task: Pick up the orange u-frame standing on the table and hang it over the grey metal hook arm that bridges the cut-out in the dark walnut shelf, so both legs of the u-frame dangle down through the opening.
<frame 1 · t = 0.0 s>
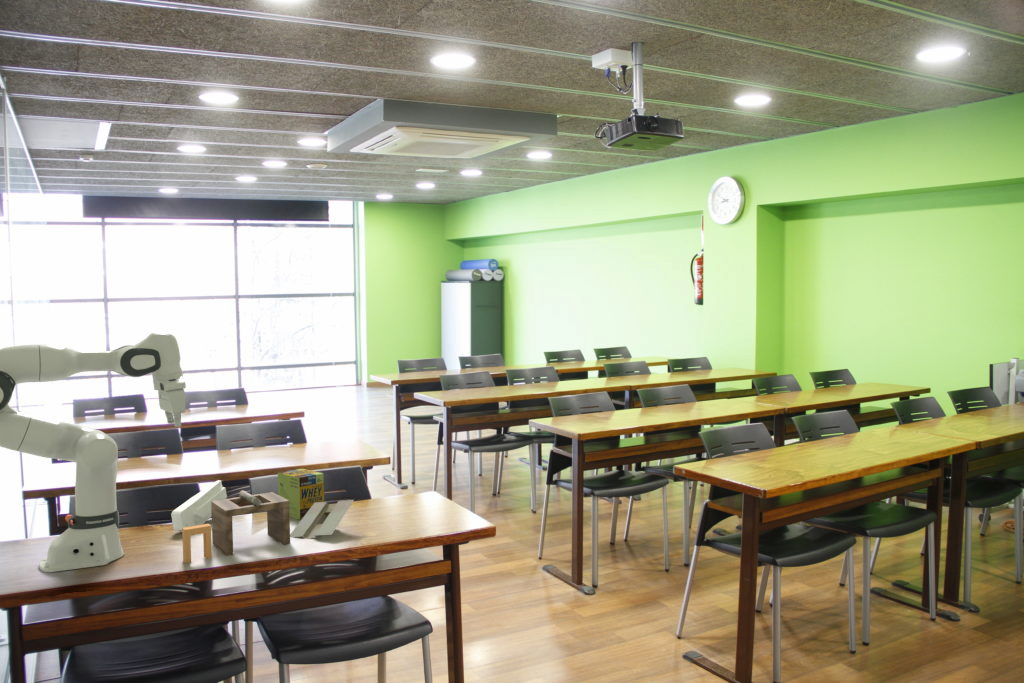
hand: (174, 425, 249), 39 cm above the table, tool pointing down, fingers open, 8 cm apart
protein box: (301, 514, 287), on the table
orange u-frame: (197, 559, 234), on the table
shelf: (251, 543, 250), on the table
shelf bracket: (201, 524, 276), on the table
slanted grey stand: (322, 534, 261), on the table
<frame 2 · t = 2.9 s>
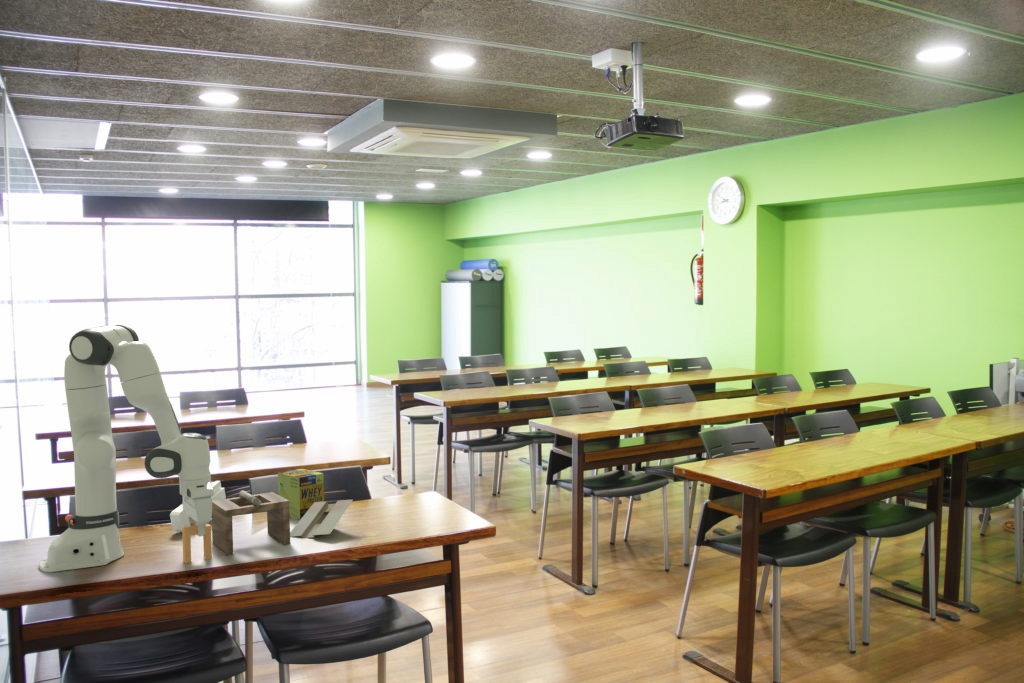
hand: (197, 532, 234), 8 cm above the table, tool pointing down, fingers open, 8 cm apart
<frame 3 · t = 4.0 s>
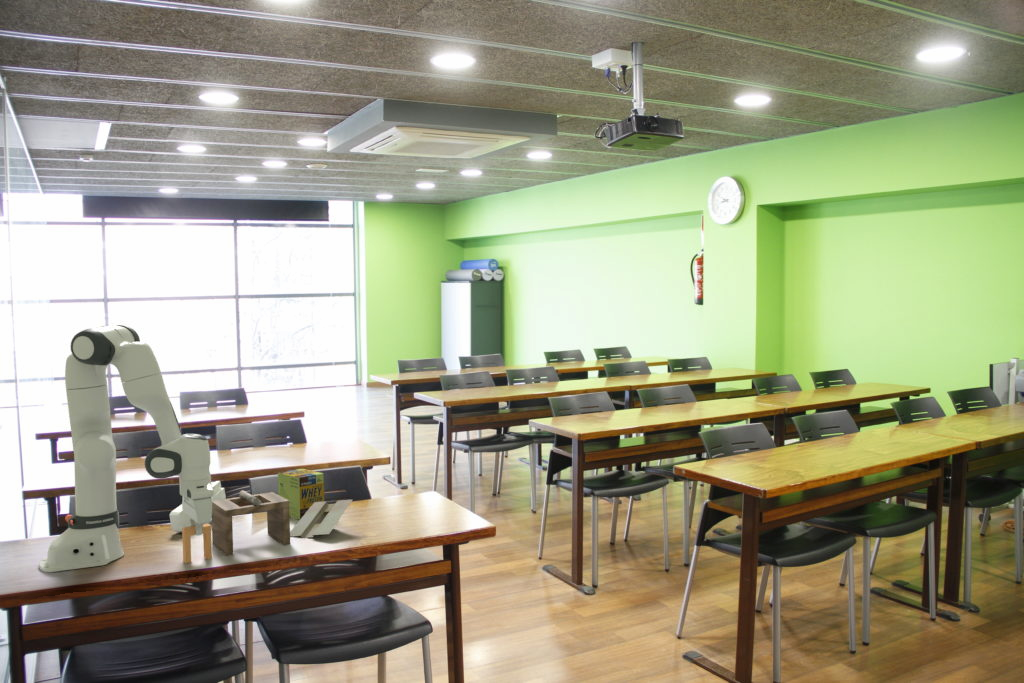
hand: (196, 532, 234), 8 cm above the table, tool pointing down, fingers closed on orange u-frame, 3 cm apart
orange u-frame: (197, 559, 234), on the table, touching gripper
everything else where it was.
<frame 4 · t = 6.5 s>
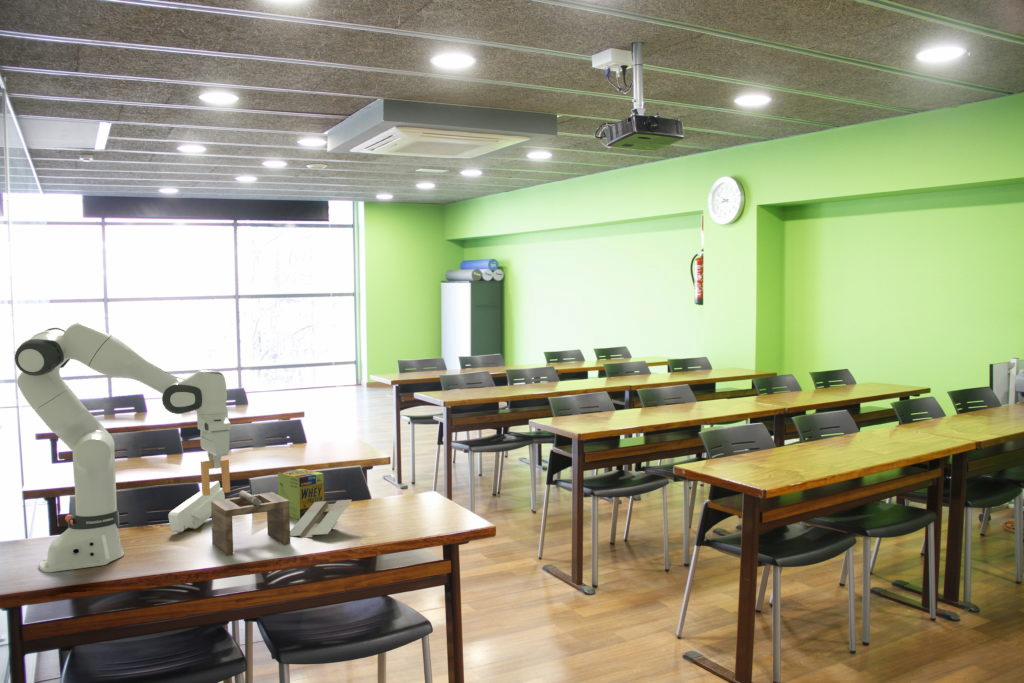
hand: (214, 466, 238), 27 cm above the table, tool pointing down, fingers closed on orange u-frame, 3 cm apart
orange u-frame: (216, 493, 239), point 19 cm above the table, touching gripper
when the fingers open (18 cm above the table, at t = 9.3 s): orange u-frame drops 1 cm, resting on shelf.
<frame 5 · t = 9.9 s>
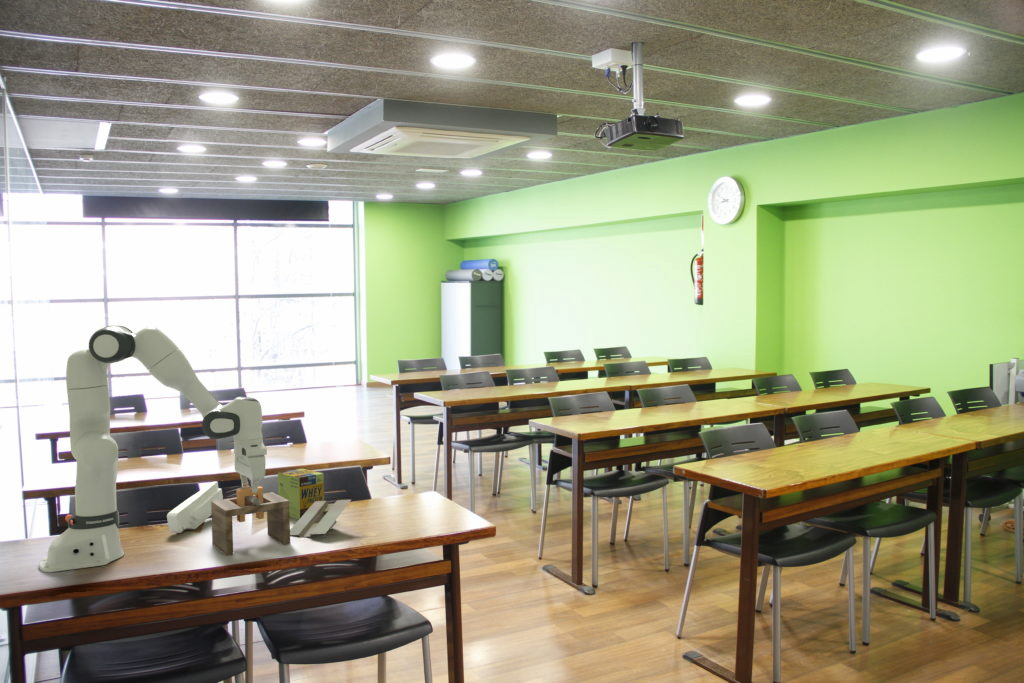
hand: (249, 489, 249), 18 cm above the table, tool pointing down, fingers open, 8 cm apart
orange u-frame: (250, 519, 249), point 8 cm above the table, touching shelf
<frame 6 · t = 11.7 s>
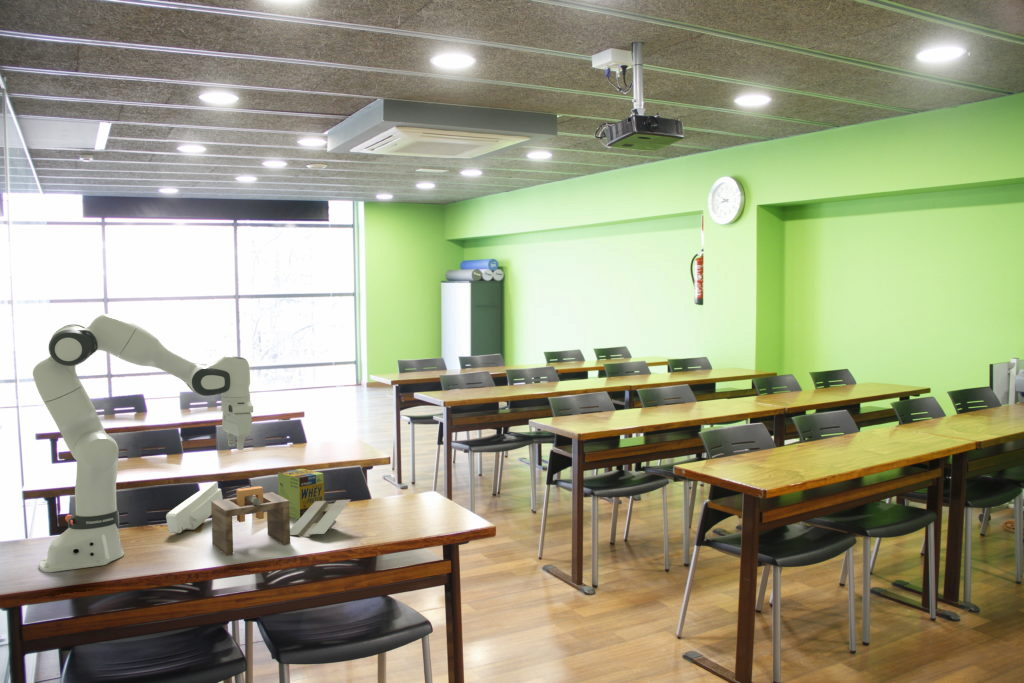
hand: (235, 447, 252), 31 cm above the table, tool pointing down, fingers open, 8 cm apart
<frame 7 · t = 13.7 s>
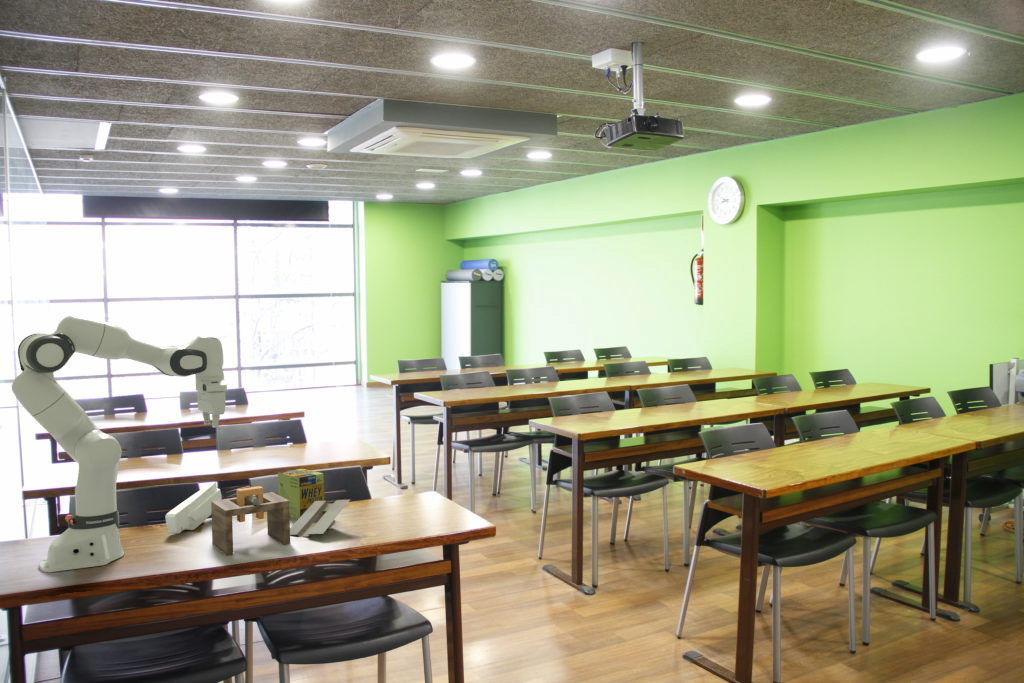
hand: (211, 426, 258), 37 cm above the table, tool pointing down, fingers open, 8 cm apart
at the end: orange u-frame 0.0 cm off-centre on the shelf, point 8.0 cm above the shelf's base; the gripper is holding nothing; orange u-frame tilted 0° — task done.
